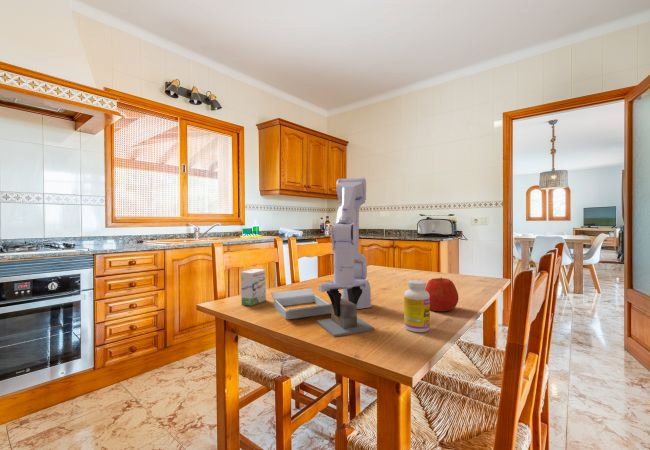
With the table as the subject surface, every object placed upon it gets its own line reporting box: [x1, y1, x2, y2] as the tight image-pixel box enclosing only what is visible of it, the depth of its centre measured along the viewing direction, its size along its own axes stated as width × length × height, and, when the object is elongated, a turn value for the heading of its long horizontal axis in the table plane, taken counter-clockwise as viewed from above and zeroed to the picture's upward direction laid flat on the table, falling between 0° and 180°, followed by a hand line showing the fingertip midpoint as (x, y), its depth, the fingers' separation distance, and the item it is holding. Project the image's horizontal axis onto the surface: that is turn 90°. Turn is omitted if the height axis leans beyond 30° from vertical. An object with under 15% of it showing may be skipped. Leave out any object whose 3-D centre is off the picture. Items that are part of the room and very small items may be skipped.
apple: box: [425, 277, 459, 312], centre depth 100 cm, size 11×11×11 cm
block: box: [330, 297, 358, 329], centre depth 85 cm, size 4×8×6 cm, turn 23°
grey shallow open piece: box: [270, 288, 332, 321], centre depth 101 cm, size 15×23×4 cm, turn 23°
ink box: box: [240, 268, 267, 307], centre depth 111 cm, size 8×5×12 cm, turn 154°
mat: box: [316, 317, 375, 338], centre depth 85 cm, size 12×12×1 cm
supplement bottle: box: [403, 279, 431, 333], centre depth 82 cm, size 7×7×13 cm
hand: (344, 314), depth 85 cm, fingers closed on block, 4 cm apart
